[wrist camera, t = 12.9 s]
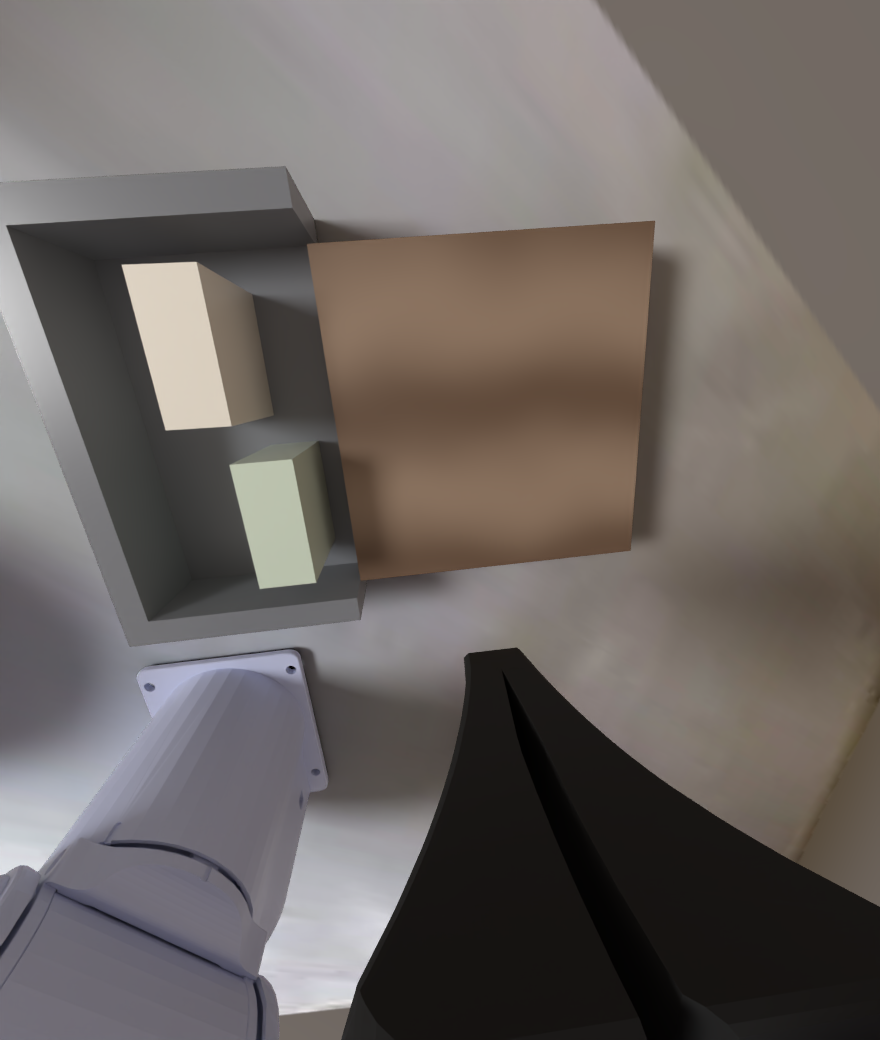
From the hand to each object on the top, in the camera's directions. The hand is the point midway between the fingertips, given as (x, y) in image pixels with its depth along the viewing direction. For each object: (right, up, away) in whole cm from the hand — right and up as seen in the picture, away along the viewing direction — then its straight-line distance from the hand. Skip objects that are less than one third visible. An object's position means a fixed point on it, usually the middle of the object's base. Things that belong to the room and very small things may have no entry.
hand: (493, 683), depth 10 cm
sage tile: (-6, +5, +6) cm, 10 cm away
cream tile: (-8, +10, +4) cm, 13 cm away
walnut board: (0, +9, +8) cm, 12 cm away
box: (-9, +8, +7) cm, 14 cm away
